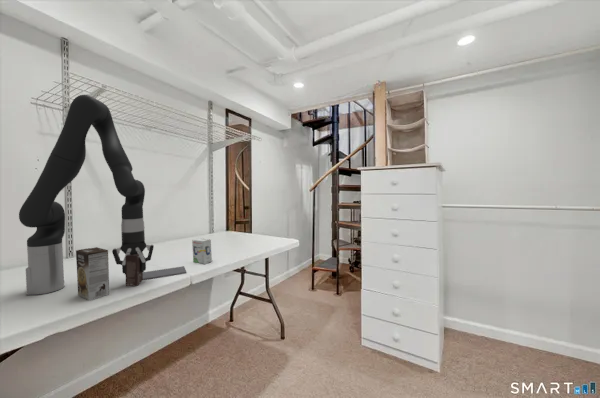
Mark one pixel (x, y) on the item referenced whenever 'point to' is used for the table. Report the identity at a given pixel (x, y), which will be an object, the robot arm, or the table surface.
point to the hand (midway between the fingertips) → (134, 272)
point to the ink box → (202, 250)
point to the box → (133, 270)
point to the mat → (164, 273)
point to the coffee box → (92, 273)
